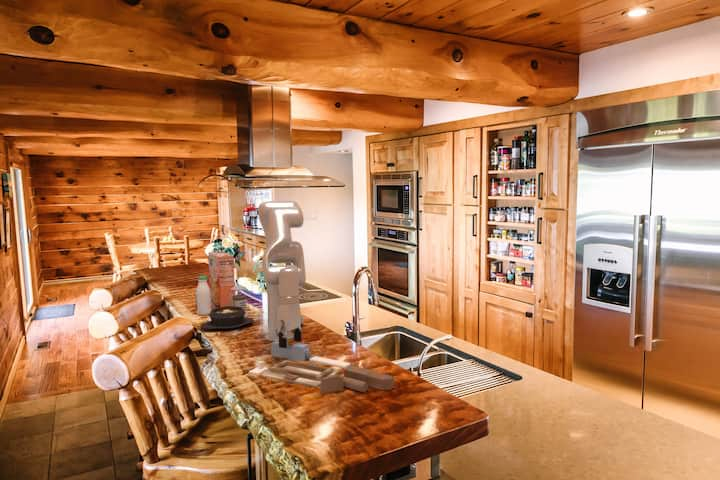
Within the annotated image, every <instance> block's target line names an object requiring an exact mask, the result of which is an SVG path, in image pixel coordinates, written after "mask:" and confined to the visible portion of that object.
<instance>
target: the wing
mask: <svg viewBox="0 0 720 480" xmlns="http://www.w3.org/2000/svg"><path fill="white" fill-rule="evenodd" d="M308 362H312V363H318V364H323V365H327V366H332V367H336V368H340V369H345V368H347V367H349V366H351V365H352V364H351V362H346V361H342V360H337V359H332V358H327V357H321V356H317V355H314V356H313V357H312V356H311V358H310V359H308Z"/></svg>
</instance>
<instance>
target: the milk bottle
mask: <svg viewBox="0 0 720 480" xmlns="http://www.w3.org/2000/svg"><path fill="white" fill-rule="evenodd" d="M197 281H198V284H197V286H196V289H195V314H196V315H197V316H206V315H208V316H209V314H210V312H211V310H212V306H211V292H210V285H209V284H208V276H207V275H200V276H197Z"/></svg>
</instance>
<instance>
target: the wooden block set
mask: <svg viewBox="0 0 720 480" xmlns="http://www.w3.org/2000/svg"><path fill="white" fill-rule="evenodd" d="M343 369H344V370H343V375H339V374H336V375H330V376H328V377H326V378H324V379H322V380H321V385H320V394H329V393H331V394H332V393H337V392H344V388H346V389H350V390H354V391H358V392H361V393H366V392H367V391H368V388H372V389H376V390H379V391H390V390H392V389H394V387H395V385H394V382H395V380H394V379H395V378H394V376H393V375H390V374H387V373H386V374H385V373H382V372H378V371H374V370H371V369H368V368H364V367H360V366H356V365H352V364H351V365H350V366H348V367H346V368H343Z"/></svg>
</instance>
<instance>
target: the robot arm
mask: <svg viewBox="0 0 720 480" xmlns="http://www.w3.org/2000/svg"><path fill="white" fill-rule="evenodd" d="M257 211H258V213H257V214H258V218H259V219H258V220H259V222H260V225H261V227H262V230H263V233H264V237H265V239H264V240H265V250H264V253H263V255H262V260H261V269H262V278H263V281H264V283H265V285H266V297H267V327H268V328H267V329H268V331H267V332H268V333H266V334H265V335H264V339H265V340H267V341H269V342H275V341H277V340H279V347H280V348H287V341H290V340H292V339H293V341H294V342H296V343H301V342H302V332H303V326H304V321H305V318H303V317H302V312H301V306H300V287H302V286H304V285H305V283H306V278H307V276H306V267H305V265H306V264H305V256H304V250H303V246H302V244H301V243H300V242H299V241H296V240H294V241H293V238H292V232H291V231H292V230H291V229H297V228H298V229H299V228H301V227H303V225H304V214H303V210H302V208H301V206H300V205H299V204H298V202H296V201H294V200H274V201H273V200H270V201H264V202H262V203H260V204H259V205H258V210H257ZM270 264H282V265H270ZM283 264H284V265H283ZM293 330H294V331H293ZM292 331H293V332H292Z"/></svg>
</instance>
